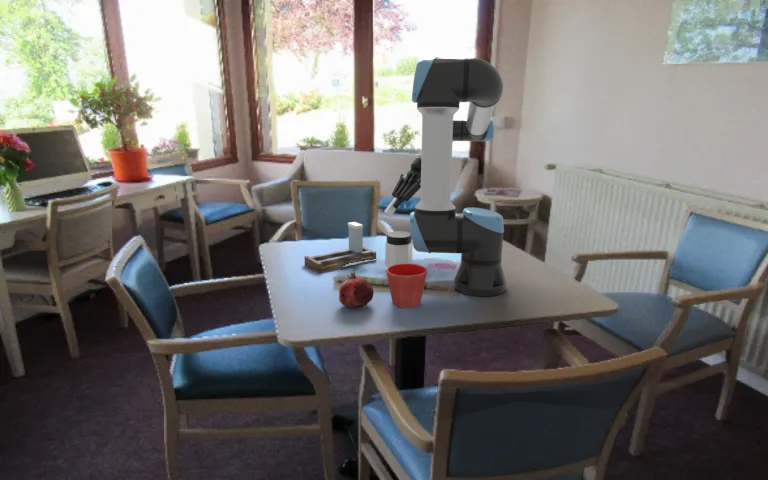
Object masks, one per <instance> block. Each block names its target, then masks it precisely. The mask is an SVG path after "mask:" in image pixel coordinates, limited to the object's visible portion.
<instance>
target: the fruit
mask: <svg viewBox="0 0 768 480" xmlns="http://www.w3.org/2000/svg"><path fill="white" fill-rule="evenodd" d="M374 291H375V290H374V288H373V286H372V284H371V283H370V282H369V281H368V280H367V279H365V278H362V277H358V276H356V273H355V271H354V270H353V272H351V273H350V275H349V273H348V274H347V279H346V280H344V281H343V282H342V283H341V284H340V287H339V289H338V300H339V302H340V304H341V305H343V307H345V308H349V309H356V308H358V309H359V308H365V309H367V308H369V307H368V304H369V303H370V302H371V301H372V300H373V298H374Z"/></svg>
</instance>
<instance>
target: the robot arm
mask: <svg viewBox="0 0 768 480" xmlns="http://www.w3.org/2000/svg"><path fill="white" fill-rule="evenodd" d="M415 66H416V67H415V71H414V75H413V85H412V96H411V101H412V103H414V104H416V109H417V111H418V112H419V114H420V115H421V116H422V117H421V118H422V120H421V121H422V122H421V123H422V124H421V150H420V151H419V153H418V154H417V156H416V157H415V159H414V160H413V162H412V163H411V164H410V170H408V172H407V173H406V174H403V173H401V174H400V176H399V179H398V182H397V183H396V185H395V187H394V189H393V191H392V192H391V196H392V197H393V198H392V199H391V201H390V202H389V203H388V205H387V207H386V208H385V209H384V211H383V212H384V213H385V215H387V216H388V217H390V218H391V217H392V216H393V214H394V213H395V212H396V210H397V209H398V208H399V206H401V205H402V203H404V202H406V203H407V202H409V200H411V198H412V197H413V196H415V194H416V193H417V192H418V191H419V190H420V200H419V202H418V203H416V205H415V206H414V211H412V212H410V213H409V223H410V225H409V226H410V227H409V228H410V233H411V237H412V243H413V249H414V250H415V251H417V252H420V253H428V254H432V253H433V254H438V253H439V254H460V263H459V265H458V267H457V271H456V273H455V276H454V280H453V286H454V285H455V287H454V289H455V290H456V291H458V292H460V293H461V294H465V295H469V296H473V297H474V296H475V297H495V296H499V295H501V294H503V293H505V292H506V290H507V280H506V276H505V273H504V269H503V265H502V260H503V259H502V258H503V257H502V256H503V241H504V233H505V228H504V227H505V226H504V225H505V224H504V223H505V222H504V217H503V215H501V214H500V213H499V212H496V211H494V210H491V209H486V208H481V207H465V208H464V209H463V210H462V213H459V212H458V213H457V212H456V206H455V205H454V204H453V203H452V201H451V195H452V194H451V192H452V191H451V190H452V164H453V142H482V143H483V142H491V141H492V139H493V136H494V126H495V125H494V121H493V120H492V116H493V113H494V109H495V106H496V105H497V104H498V103H499V101H500V100H501V98H502V96H503V91H504V84H503V80H502V76H501V74H500V73H499V72H498V70H497V69H496V68H495V66H494V65H493V64H492V63H490V62H488V61H487V60H484V59H482V58H481V57H477V56H468V57H463V56H462V57H459V56H457V57H456V56H452V57H451V56H434V57H433V56H432V57H423V58H420V59H419V60H418V61H417V63H416V65H415ZM460 103H469V104H468V111H467V117H466V118H462V119H461V118H454V115H455V114H456V113H457V112H458V111H459V110H460Z"/></svg>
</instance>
